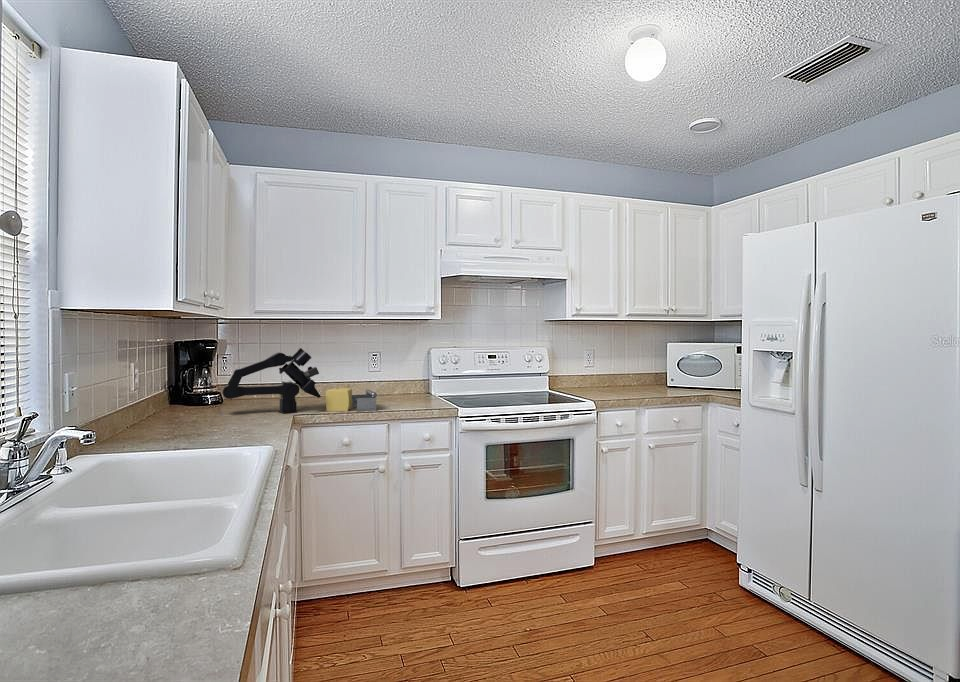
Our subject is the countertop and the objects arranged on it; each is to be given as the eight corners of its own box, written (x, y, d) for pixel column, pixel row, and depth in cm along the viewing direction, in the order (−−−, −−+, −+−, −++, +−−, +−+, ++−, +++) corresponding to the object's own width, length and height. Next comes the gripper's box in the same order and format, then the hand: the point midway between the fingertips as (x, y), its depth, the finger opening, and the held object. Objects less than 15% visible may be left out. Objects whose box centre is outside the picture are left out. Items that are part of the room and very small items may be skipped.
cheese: (330, 408, 283) (330, 387, 283) (353, 408, 283) (353, 387, 283) (325, 411, 272) (325, 390, 272) (348, 411, 272) (348, 390, 272)
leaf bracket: (357, 411, 272) (357, 393, 272) (350, 407, 288) (350, 389, 288) (377, 410, 276) (377, 392, 276) (369, 406, 292) (369, 389, 291)
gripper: (310, 362, 263) (335, 386, 268) (305, 360, 280) (329, 382, 285) (292, 380, 260) (317, 404, 265) (288, 376, 277) (312, 399, 282)
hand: (319, 396), depth 274 cm, fingers closed
